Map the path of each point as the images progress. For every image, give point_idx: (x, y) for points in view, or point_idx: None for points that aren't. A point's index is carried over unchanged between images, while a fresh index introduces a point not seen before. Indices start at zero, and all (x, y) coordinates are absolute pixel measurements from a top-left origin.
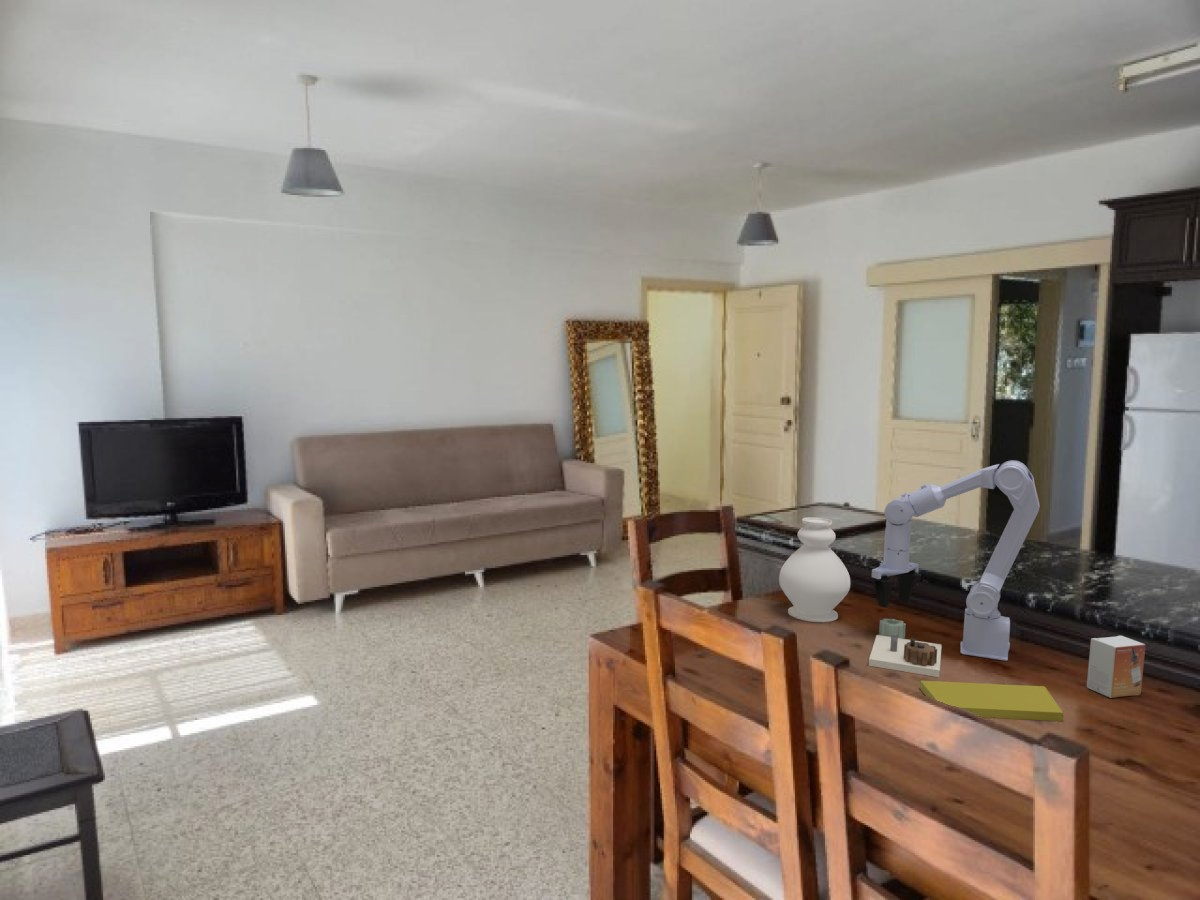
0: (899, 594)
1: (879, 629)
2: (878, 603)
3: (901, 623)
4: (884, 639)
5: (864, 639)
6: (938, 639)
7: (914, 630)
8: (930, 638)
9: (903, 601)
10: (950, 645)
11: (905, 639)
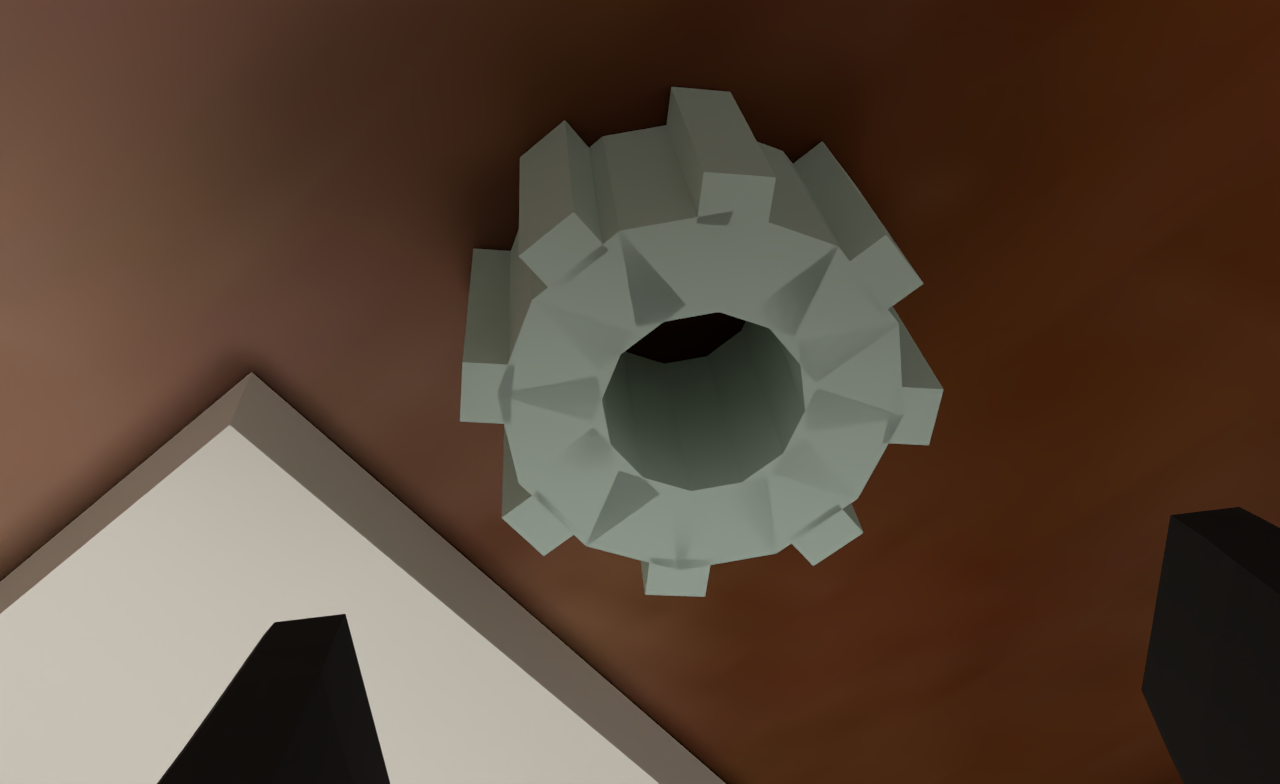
0: (1276, 620)
1: (524, 190)
2: (252, 663)
3: (798, 505)
4: (210, 608)
5: (99, 242)
6: (1152, 597)
7: (1241, 223)
8: (1098, 541)
9: (1166, 624)
10: (1068, 765)
11: (530, 688)
